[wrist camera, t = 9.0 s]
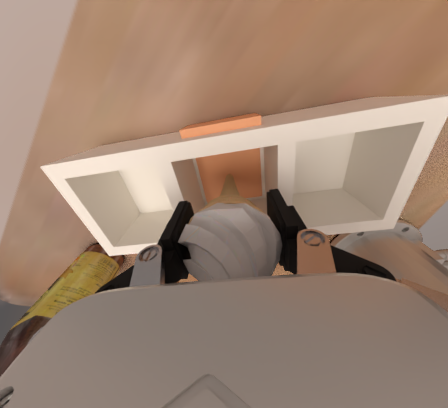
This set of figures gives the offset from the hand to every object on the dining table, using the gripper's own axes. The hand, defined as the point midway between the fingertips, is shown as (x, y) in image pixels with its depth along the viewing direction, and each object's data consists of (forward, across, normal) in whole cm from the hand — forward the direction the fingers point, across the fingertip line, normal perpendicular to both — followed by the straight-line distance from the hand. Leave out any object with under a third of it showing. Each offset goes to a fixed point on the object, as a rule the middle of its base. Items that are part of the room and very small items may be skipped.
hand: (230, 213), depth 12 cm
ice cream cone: (+7, 0, 0) cm, 7 cm away
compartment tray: (+9, 0, 0) cm, 9 cm away
